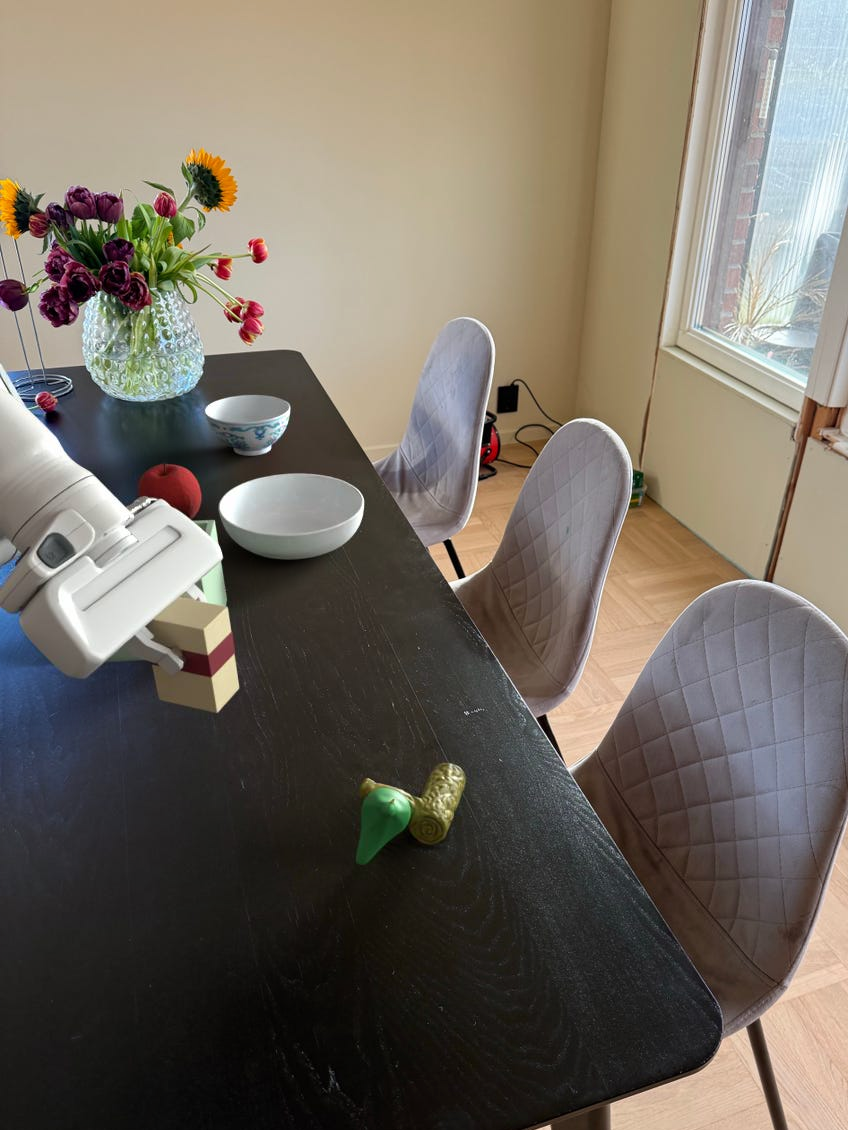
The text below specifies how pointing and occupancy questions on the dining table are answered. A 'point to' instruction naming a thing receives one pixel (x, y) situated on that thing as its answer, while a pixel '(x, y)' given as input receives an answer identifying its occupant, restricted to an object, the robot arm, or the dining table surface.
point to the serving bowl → (292, 515)
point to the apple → (172, 487)
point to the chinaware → (249, 422)
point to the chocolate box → (196, 654)
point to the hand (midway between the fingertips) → (198, 651)
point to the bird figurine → (408, 810)
